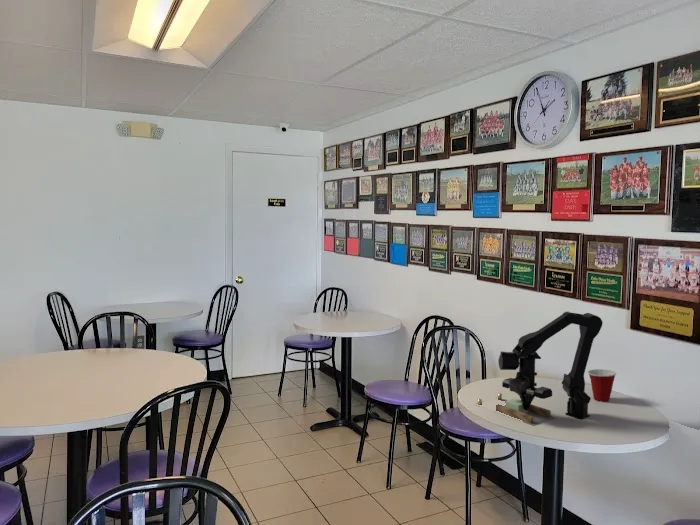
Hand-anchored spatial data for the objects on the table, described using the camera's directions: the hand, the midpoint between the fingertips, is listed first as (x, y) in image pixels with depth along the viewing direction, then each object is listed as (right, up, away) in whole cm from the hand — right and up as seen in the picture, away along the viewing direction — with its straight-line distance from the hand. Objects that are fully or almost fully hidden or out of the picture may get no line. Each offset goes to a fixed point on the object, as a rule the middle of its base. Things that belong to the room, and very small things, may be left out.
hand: (526, 409), depth 203 cm
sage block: (-2, -2, +4) cm, 5 cm away
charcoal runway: (-3, -2, +5) cm, 6 cm away
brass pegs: (-10, -1, +14) cm, 18 cm away
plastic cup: (+37, -1, +19) cm, 42 cm away
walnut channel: (-1, -2, +1) cm, 3 cm away
